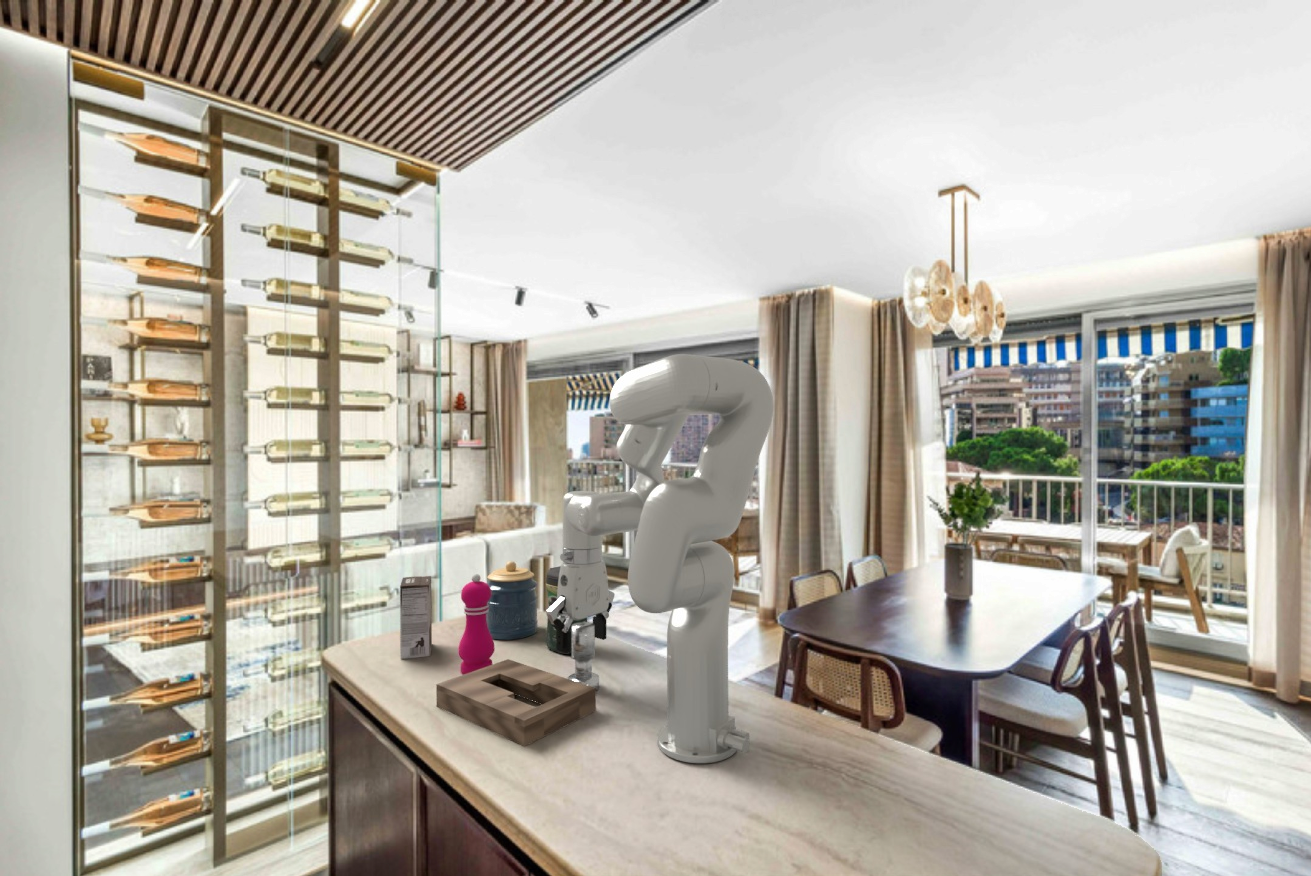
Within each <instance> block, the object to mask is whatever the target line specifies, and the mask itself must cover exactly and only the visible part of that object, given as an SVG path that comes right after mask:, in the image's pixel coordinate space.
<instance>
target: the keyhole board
mask: <svg viewBox="0 0 1311 876" xmlns="http://www.w3.org/2000/svg"><path fill="white" fill-rule="evenodd" d="M435 685H436V689H435V690H436V692H435V693H436V707H437V708H439V709H441V710H444V711H446V712H448V713H450V714H451V715H454V716H456V717H459V718H461V719H464V720H466V721H468V722H470V723H472V724H474V725H477V726H478V727H481V728H483V729H485V730H488V731H490V732H492V733H494V734H495V735H498V736H501V737H503V738H505V739H507V740H509V741H512V742H514V743H515V744H517V745H520V746H523V747H526V746H527V745H531V744H532V743H535V742H537V741H538V740H541V739H542V738H544V737H546V736H548V735H550V734H552V733H554V732H557V731H558V730H560V729H562V728H564V727H567V726H568V725H570V724H572V723H575V722H576V721H578V720H580V719H582V718H585V717H587V716H588V715H590V714H592V713H595V712H597V701H596V700H597V697H596V696H597V695H596V694H597V691H596V688H594V687H591V686H588V685H585V684H582V683H579V682H576V681H573V680H570V679H568V677H567V678H566V677H563V676H560V675H557V674H554V673H551V672H549V671H548V672H547V671H545V670H541V669H540V668H539V669H538V668H536V667H533V666H530V665H527V664H525V663H521V662H518V661H516V660H515V661H514V660H512V659H509V658H507V659H504V660H502V661H499V662H496V663H492V665H490V666H487V667H484V668H481V669H479V670H476V671H473V672H470V673H467V674H464V675H463V674H461V675H459V676H456V677H452V678H449V679H447V680H444V681H442V682H438V683H436V684H435ZM515 694H516V696H518V695H520V696H521V698H523V697H525V698H524V699H526V698H528V699H530V700H529V701H531V700H533V701H532V702H534V701H536V702H538V703H537V704H539V703H541V704H542V705H541V704H539V705H538V706H533V705H531V704H528V703H526V702H523V701H520V700H518V699H515ZM520 696H519V697H520ZM528 699H527V700H528ZM536 702H535V703H536Z"/></svg>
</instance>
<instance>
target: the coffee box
mask: <svg viewBox="0 0 1311 876" xmlns="http://www.w3.org/2000/svg"><path fill="white" fill-rule="evenodd" d="M399 589H400V592H399V596H400V597H399V601H400V602H399V603H400V604H399V607H400V608H399V611H400V612H399V614H400V616H399V617H400V620H399V622H400V624H399V625H400V630H399V631H400V635H399V637H400V638H399V640H400V645H399V647H400V659H401V660H405V659H415V658H424V657H425V658H426V657H430V656H431V654H432V653H431V651H432V646H433V645H432V644H433V638H432V637H433V635H432V631H433V630H432V628H433V627H432V625H433V624H432V622H433V620H432V610H433V609H432V606H433V605H432V576H431V575H426V576H422V575H421V576H404V577H402V579H401V582H400V585H399Z"/></svg>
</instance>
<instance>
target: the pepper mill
mask: <svg viewBox="0 0 1311 876" xmlns="http://www.w3.org/2000/svg"><path fill="white" fill-rule="evenodd" d="M487 583H488V582H487ZM487 583H486V582H485V581H481V575H480V574H478V573H474V574H473V575H472V576H471V581H470V582H468V583H466V584H465V585H464V586H463V587H462V589H461V592H460V598H461V601H462V603H464V606H463V614H465V628H464V631H463V634H462V636H461V639H460V641H459V644H458V650H457V653H458V657H459V658H460V659H461V660H462V662H461V663H460V674H461V675H464V674H467V673H470V672H473V671H476V670H479V669H481V668H484V667H487V666H490V665H493V659H492V658H491V657H492V656H493V654H494V653H495V642H494V639H493V638H492V636H491V634H490V632H489V630H488V626H487V620H486V616H487V612H488V611H489V609H488V607H489V605H488V604H487V602H488V601H489V599H490V598H491V589H490V587H489V585H488V584H487Z"/></svg>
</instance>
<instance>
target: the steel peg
mask: <svg viewBox="0 0 1311 876" xmlns="http://www.w3.org/2000/svg"><path fill="white" fill-rule="evenodd" d="M595 646H596V638H595V624H593V622H590V621H587V622H579V623H575V624H573V625H572V653H571V659H572V660H574V673H572V674H570V675H568V677H567V679H570V680H573V681H576V682H579V683H582V684H585V685H588V686H591V687H594V688H596V692H597V691H598V690H599V689H600V675H599V674H597V673H596V672H593V671H592V669H593V665H592V664H593V661H592V659H595V657H596V651H595V650H596V647H595Z"/></svg>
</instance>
